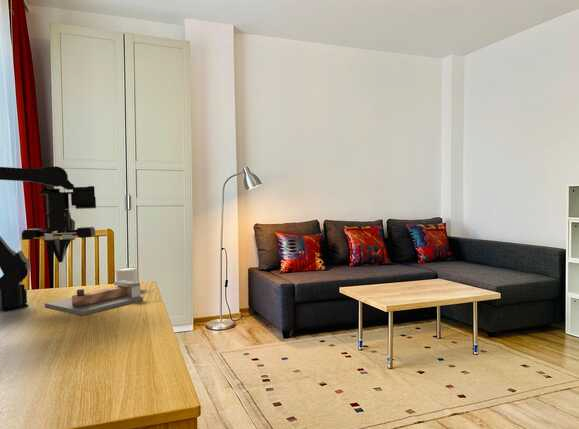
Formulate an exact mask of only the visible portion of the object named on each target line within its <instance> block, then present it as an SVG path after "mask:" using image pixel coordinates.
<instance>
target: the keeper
mask: <svg viewBox="0 0 579 429" xmlns="http://www.w3.org/2000/svg"><path fill="white" fill-rule="evenodd" d="M113 286H116V287H117V286H123V287H127V292H128V298H136V297H140V296H141V282H138V281H137V282H132V281H125V280H120V281H117V280H116V281H113Z"/></svg>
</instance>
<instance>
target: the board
mask: <svg viewBox="0 0 579 429" xmlns="http://www.w3.org/2000/svg"><path fill="white" fill-rule="evenodd" d="M140 301H144V300H143V296H142V295H140V297H136V298H128V295H125V296H120V297H116V298H112V299H108V300H104V301H100V302H96V303H91V304H89V305H86V306H79V307H74V306H72V296H71V297H67V298H64V299H63V298H62V299H59V300H54V301H48V302H44V308H49V309H53V310H58V311H63V312H66V313H70V314H75V315H79V316H86V315H89V314H93V313H98V312H102V311H105V309H106V310H110V309H114V308H117V307H122V306H125V305H129V304H134V303H136V302H140Z"/></svg>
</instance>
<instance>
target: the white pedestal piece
mask: <svg viewBox="0 0 579 429" xmlns="http://www.w3.org/2000/svg"><path fill="white" fill-rule="evenodd" d="M115 275H116V281H120V280H125V281H132V282H138V267H122V268H117V269H115Z"/></svg>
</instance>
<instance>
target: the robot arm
mask: <svg viewBox="0 0 579 429" xmlns="http://www.w3.org/2000/svg"><path fill="white" fill-rule="evenodd" d="M0 181H14V182H30V183H31V182H32V183H37V184H43V185H44V186H43V188H42V189H41V190H40V191H38V194H39V195H46V206H47V213H46V218H47V227H46V230H43V228H28V229H24V230H22V231H21V240H22V241H25V240H29V241H30V240H35V239H36V238H38V239H39V238H44V239H43V243H47V245H48V246H49V247H50V250H52V252H53V254H54V256H55V258H56V259H57V262H58V263H64V260H65V256H66V253H67V250H68V247H69V245H70V243H71V242H72V241H75V239H76V236H77V237H78V238H92V237H95V236H96V229H95V228H94V227H93V226H81V227H77V228H76V221H75V220H74V219H72V217H71V216H72V215H71V212H70V204H71V206H73V207H74V206H75V209H76V210H79V209H80V210H82V209H83V210H88V209H96V208H97V200H96V199H97V198H96V195H95V194H96V193H95V186H94V185H89V186H75V185H74V183H72V182H70V180H69V175H68V173H67V171H66V170H65V169H64V168H62V167H61V166H45V167H44V166H43V167H37V168H36V167H35V168H24V167H22V168H20V167H9V166H7V167H6V166H0ZM48 186H52V187H56V188H49V187H48ZM58 187H62V188H63V189H65V190H67V191H64V192H63V191H61V189H60V188H58ZM69 195H70V199H69ZM70 202H71V203H70ZM60 237H61V238H60ZM30 262H31V260H30V259H28V258H27V257H26V256H25V254H24V252H23V250H19V251H17V252H16V251H15V250H13V249H12V248H11V247H10V246H9V245H8V244H7V243H6V241H5V240H4V239H3V237H2V236H1V235H0V271H1V272H2V273H3V275H1V277H0V311H3V312H7V311H12V310H16V309H17V310H18V309H22V308H25V307H29V304H28V294H27V293H28V292H27V289H25V288H26V286H25V284H22V283H23V280H25V279H26V278H27V277H28V276H29V274H30V272H31V268H32V267H31V264H30Z"/></svg>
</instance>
